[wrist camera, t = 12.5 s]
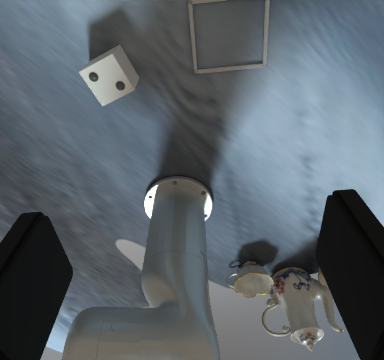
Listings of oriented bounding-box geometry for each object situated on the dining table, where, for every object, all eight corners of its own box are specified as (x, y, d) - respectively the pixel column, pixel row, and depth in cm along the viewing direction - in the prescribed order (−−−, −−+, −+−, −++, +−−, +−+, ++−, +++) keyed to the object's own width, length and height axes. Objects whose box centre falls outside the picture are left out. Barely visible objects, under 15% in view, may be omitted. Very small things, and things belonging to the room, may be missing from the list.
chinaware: (351, 229, 64) (394, 295, 49) (353, 282, 72) (391, 352, 57) (221, 254, 68) (226, 321, 54) (236, 301, 76) (245, 371, 62)
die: (139, 77, 43) (134, 90, 39) (110, 92, 44) (102, 106, 40) (120, 44, 40) (112, 53, 36) (89, 61, 42) (78, 72, 38)
